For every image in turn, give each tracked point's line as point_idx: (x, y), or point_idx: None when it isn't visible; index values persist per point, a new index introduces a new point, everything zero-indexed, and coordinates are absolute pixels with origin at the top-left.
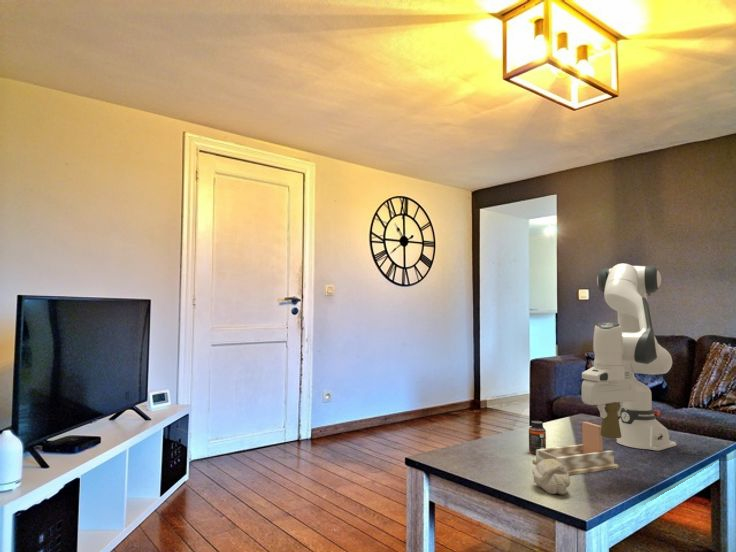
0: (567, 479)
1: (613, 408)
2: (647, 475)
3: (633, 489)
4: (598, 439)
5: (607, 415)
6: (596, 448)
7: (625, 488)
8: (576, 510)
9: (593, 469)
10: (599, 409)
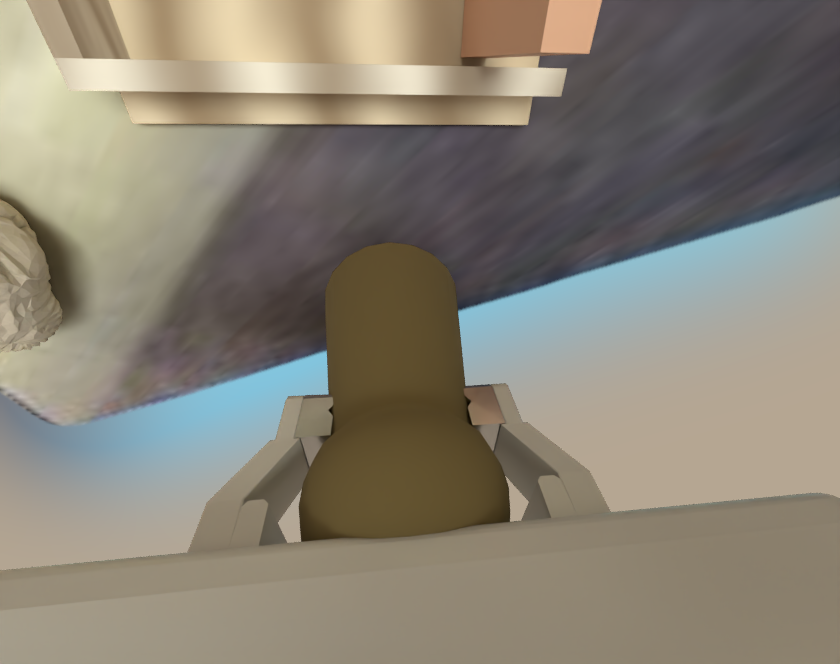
0: (25, 348)
1: None
2: (533, 241)
3: None
4: (499, 49)
5: None
6: (483, 24)
7: None
8: (59, 390)
9: (355, 123)
10: (248, 473)
